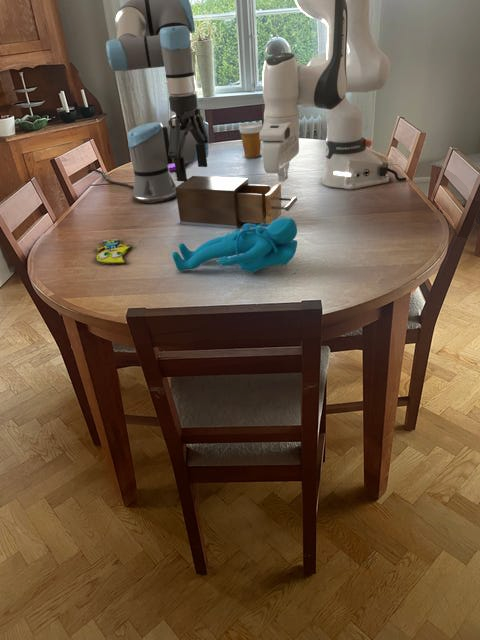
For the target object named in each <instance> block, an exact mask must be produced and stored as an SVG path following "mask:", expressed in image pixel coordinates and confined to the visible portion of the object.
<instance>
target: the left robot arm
mask: <svg viewBox="0 0 480 640" xmlns="http://www.w3.org/2000/svg"><path fill="white" fill-rule="evenodd" d="M114 20H115V21H114V23H115V29H116V38H114V39H109V40H107V41H106V42H105V49H106V55H107V60H108V64H109V67H110V69H111V70H112V71H114V72H127V71H135V70H145V69H155V68H164V71H165V79H166V80H165V84H166V86H167V87H166V88H167V93H168V96H169V97H168V101H169V109H170V111H171V117H170V118H169V119H168V121H167V122H168V123H167V124H168V126H163V124H162V123H161V122H160V121H159V122H158V121H155V122H149V123H144V124H141V125H138V126H135V127H134V128H132V129H130V130H129V131H128V133H127V141H128V144H127V145H128V149H129V153H130V158H131V163H132V164H131V165H132V168H133V173H134V181H133V185H132V184H129V183H126V182H120V181H114V180H111V179H109V178H108V177H107V176H106V175H105V172H104V171H102V170H99V169H96V168H89V169H88V170H87V174H90V173H91V172H95V173H98V174H101V176H102V178H103V179H104V180H105V181H106V182H107V183H109V184H111V185H112V184H113V185H117V186H122V187H127V188H130V189H133V191H132V197H133V200H134V201H135V202H137V203H139V204H157V203H163V202H166V201H170V200H172V199H175V198H176V197H177V196H176V190H175V188H176V187H177V185H176V183H175V181H174V179H173V177H172V175H171V173H170V171H169V169H168V166H169V165H172V164H174V163H175V169H176V170H175V176H176V181H177V182H182V183H183V182H186V181H187V179H188V176H187V169H186V163H185V162H187V163H191V162H194V163H196V162H197V167H198V168H199V167H200V168H208V159H207V158H208V157H209V151H210V150H209V149H210V148H209V147H210V145H209V144H210V143H209V139H210V138H209V123H208V122H206V121H204V117H203V115H201V109H200V108H199V102H198V95H197V94H196V92H197V85H196V84H197V83H196V76H195V71H194V59H193V51H192V38H193V37H192V36H193V34H194V33H195V32H196V28H195V27H196V26H195V21H194V14H193V10H192V5H191V3H190V0H127V1H126V2H125V3H123V5H121V6H120V8H119V9H118V10H117V12H116V15H115V19H114Z"/></svg>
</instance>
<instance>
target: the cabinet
mask: <svg viewBox="0 0 480 640" xmlns="http://www.w3.org/2000/svg"><path fill="white" fill-rule="evenodd" d="M245 184H249V177H232V176H231V177H228V176H203V175H192V176H190V177H189V178H187V181H186V182H183V181H182V182H181V183H180V184H178V185H176V188H175V190H176V196H175V197H176V202H177V208H178V215H179V223H180V225H190V226H201V227H215V228H225V229H227V228H228V229H238V228H239V227H240V226H241V224H243V222H238V221H237V209H236V197H235V193H236V192H237V191H238V190H239V189H240V188H242V187H243V186H244V185H245Z"/></svg>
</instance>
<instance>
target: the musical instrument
mask: <svg viewBox="0 0 480 640" xmlns="http://www.w3.org/2000/svg"><path fill="white" fill-rule="evenodd" d="M187 163H188V162H185V164H187ZM168 169H169V172H172V171H176V169H175V163H174V164H173V163H172V164H168Z"/></svg>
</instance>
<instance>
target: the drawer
mask: <svg viewBox="0 0 480 640" xmlns="http://www.w3.org/2000/svg"><path fill="white" fill-rule="evenodd" d="M235 197H236V209H237V221H238V222H242V223H251V224H261V223H265V221H266V224H269V225H270V224H271V223H272V222H273V221H274V220H276V219H278V218H280V216H281V215H282V213H283V210H284V211H285V212H290V210H291V209H292V207H294V205H295V204H296V202H297V201H298V197H297V196H293V197H282V183H276V184H275V185H273V187H272V185H270V184H269V185H268V184H245V185H244V186H243V187H242V188H240V189H239V190H238V191H237V192H236V193H235ZM282 201H289V202H288V203H287V205H286V206H282Z"/></svg>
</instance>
